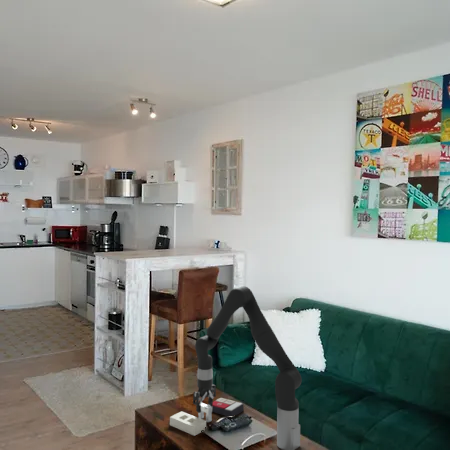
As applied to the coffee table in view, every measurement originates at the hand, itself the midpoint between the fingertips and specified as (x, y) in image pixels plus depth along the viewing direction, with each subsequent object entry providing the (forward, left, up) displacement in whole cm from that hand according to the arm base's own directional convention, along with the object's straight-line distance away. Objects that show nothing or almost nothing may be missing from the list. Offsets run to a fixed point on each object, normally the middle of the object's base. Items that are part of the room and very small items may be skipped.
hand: (204, 409), depth 225 cm
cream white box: (+1, +11, -5) cm, 12 cm away
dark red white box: (-1, -15, -6) cm, 16 cm away
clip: (0, 0, -5) cm, 5 cm away
